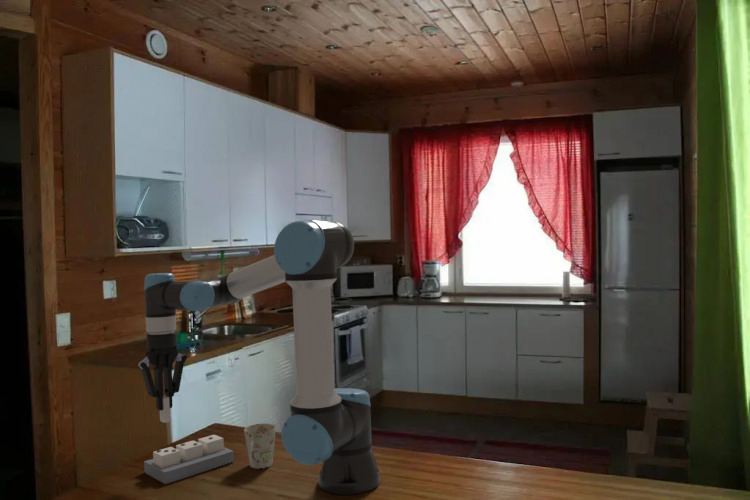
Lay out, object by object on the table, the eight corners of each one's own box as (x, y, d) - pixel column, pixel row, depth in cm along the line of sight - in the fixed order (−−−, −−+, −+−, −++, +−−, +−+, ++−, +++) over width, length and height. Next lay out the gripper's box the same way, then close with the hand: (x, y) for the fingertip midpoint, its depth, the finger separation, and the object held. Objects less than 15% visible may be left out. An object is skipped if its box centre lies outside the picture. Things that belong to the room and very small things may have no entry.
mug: (280, 459, 169) (278, 423, 169) (267, 477, 157) (266, 438, 156) (250, 459, 170) (249, 423, 170) (236, 476, 157) (234, 438, 157)
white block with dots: (180, 465, 161) (179, 450, 161) (162, 470, 157) (161, 455, 157) (171, 460, 164) (170, 445, 164) (153, 466, 161) (153, 450, 161)
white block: (224, 451, 170) (223, 437, 170) (207, 456, 166) (207, 442, 166) (214, 447, 174) (214, 433, 173) (198, 452, 170) (198, 438, 170)
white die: (202, 458, 165) (202, 443, 165) (185, 463, 162) (185, 448, 162) (193, 454, 169) (193, 439, 169) (176, 459, 165) (176, 444, 165)
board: (234, 461, 168) (233, 451, 168) (165, 484, 154) (164, 472, 154) (211, 452, 177) (211, 441, 177) (144, 472, 163) (144, 461, 163)
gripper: (177, 327, 167) (181, 413, 168) (130, 334, 158) (134, 424, 159) (191, 330, 162) (194, 418, 163) (143, 336, 153) (147, 430, 153)
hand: (165, 421), depth 161 cm, fingers closed
